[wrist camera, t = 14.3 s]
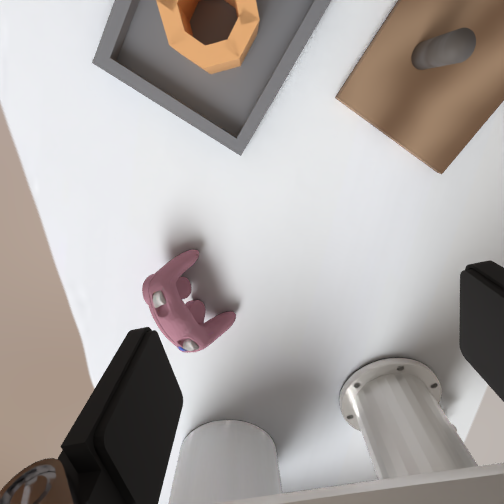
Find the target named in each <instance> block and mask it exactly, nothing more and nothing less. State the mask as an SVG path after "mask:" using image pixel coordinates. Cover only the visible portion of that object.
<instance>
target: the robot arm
mask: <svg viewBox="0 0 504 504" xmlns="http://www.w3.org/2000/svg"><path fill="white" fill-rule="evenodd" d="M460 349H461V352H462V354H463V356H464V357H465V359H466V360H467V361H468V362H469V363H470V364H471V365H472V367H473V368H474V369H475V370H476V371H477V372H478V373H479V374H480V376H481V377H482V378H483V379H484V380H485V381H486V382H487V384H488V385H489V386H490V387H491V388H492V389H493V390H494V391H495V392H496V394H497V395H498V396H499V397H500V398H501V399H502V400H503V401H504V268H503V267H501V266H500V265H498V264H496V263H495V262H493V261H485V262H480V263H475V264H469V265H468V266H467V267H466V269H465V271H462V272H461V274H460ZM441 393H442V390H441V384H440V382H439V380H438V378H437V377H436V375H435V374H434V373H433V371H432V370H431V369H430V368H429V367H427V366H426V365H424V364H422V363H421V362H419V361H415V360H412V359H406V358H389V359H383V360H379V361H376V362H373V363H370V364H368V365H366V366H364V367H362V368H361V369H359V370H358V371H356V372H355V373H354V374H353V375H352V376H351V377H350V378H349V379H348V380H347V381H346V383H345V384H344V385H343V388H342V390H341V392H340V397H339V405H340V409H341V412H342V415H343V417H344V419H345V420H346V421H347V422H348V424H349V425H351V426H352V427H353V428H355V429H357V430H359V431H361V432H362V435H363V438H364V441H365V444H366V447H367V449H368V452H369V455H370V458H371V461H372V464H373V466H374V469H375V472H376V475H377V478H378V480H373V481H366V482H359V483H352V484H345V485H338V486H331V487H324V488H317V489H310V490H302V491H295V492H288V493H281V494H275V495H268V496H261V497H254V498H247V499H240V500H234V501H227V502H220V503H213V504H504V463H498V464H491V465H483V466H478V465H477V463H476V462H475V460H474V458H473V457H472V455H471V454H470V452H469V451H468V449H467V448H466V446H465V444H464V443H463V441H462V440H461V438H460V437H459V435H458V434H457V429H456V427H455V426H454V425H453V424H451V423H450V421H449V420H448V418H447V416H446V415H445V413H444V412H443V410H442V409H441V407H440V406H439V402H440V399H441ZM182 406H183V396H182V392H181V390H180V387H179V385H178V382H177V380H176V377H175V375H174V373H173V370H172V368H171V365H170V363H169V360H168V358H167V355H166V353H165V350H164V348H163V345H162V343H161V340H160V338H159V335H158V333H157V332H156V331H155V330H154V331H152V330H151V329H150V328H149V327H145V328H140V329H135V330H131V331H129V332H128V334H127V336H126V337H125V339H124V341H123V342H122V344H121V346H120V347H119V349H118V351H117V352H116V354H115V356H114V357H113V359H112V361H111V363H110V364H109V366H108V368H107V369H106V371H105V373H104V374H103V376H102V378H101V379H100V381H99V383H98V384H97V386H96V388H95V389H94V391H93V393H92V395H91V396H90V398H89V400H88V401H87V403H86V405H85V406H84V408H83V410H82V411H81V413H80V415H79V416H78V418H77V420H76V421H75V423H74V425H73V426H72V428H71V430H70V432H69V433H68V435H67V437H66V438H65V440H64V442H63V444H62V445H61V448H62V449H63V451H62V452H61V454H60V456H59V457H58V459H54V458H48V459H43V460H40V461H37V462H35V463H33V464H31V465H29V466H28V467H26V468H24V469H23V470H22V471H20V472H19V473H18V474H16V475H15V476H14V477H13V478H12V479H11V480H10V481H9V482H8V483H7V484H6V485H5V486H4V487H3V488H2V490H1V491H0V504H158V501H159V497H160V493H161V489H162V485H163V481H164V477H165V473H166V469H167V465H168V461H169V457H170V453H171V449H172V446H173V442H174V438H175V434H176V430H177V426H178V422H179V418H180V414H181V410H182Z"/></svg>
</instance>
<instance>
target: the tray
mask: <svg viewBox="0 0 504 504" xmlns="http://www.w3.org/2000/svg"><path fill="white" fill-rule="evenodd" d="M330 1H331V0H256V3H257V9H258V14H259V19H260V20H259V26H258V32H257V36H256V38H255V40H254V41H253V43H252V45H251V47H250V49H249V51H248V53H247V55H246V57H245V59H244V61H243V62H242V64H241V66H239V67H236V68H232V69H228V70H225V71H221V72H217V73H214V74H209V73H208V72H206V71H205V70H203V69H202V68H200V67H199V66H198V65H196V64H195V63H193V62H192V61H190V60H189V59H187V58H186V57H184V56H183V55H181V54H180V53H179V52H177V51H176V50H175V49H173V48H172V47H171V46H170V45H169V43H168V39H167V36H166V32H165V29H164V26H163V22H162V19H161V15H160V12H159V9H158V5H157V2H156V0H115V2H114V4H113V7H112V10H111V13H110V15H109V18H108V21H107V24H106V26H105V29H104V32H103V35H102V37H101V40H100V43H99V46H98V48H97V51H96V54H95V57H94V59H93V62H92V63H93V64H95V65H97V66H98V67H100V68H101V69H103V70H105V71H106V72H108V73H109V74H111V75H113V76H114V77H116V78H117V79H119V80H121V81H122V82H124V83H125V84H127V85H128V86H130V87H132V88H133V89H135V90H136V91H138V92H140V93H141V94H143V95H144V96H146V97H148V98H149V99H151V100H152V101H154V102H156V103H157V104H159V105H160V106H162V107H164V108H165V109H167V110H168V111H170V112H172V113H173V114H175V115H176V116H178V117H180V118H181V119H183V120H184V121H186V122H188V123H189V124H191V125H192V126H194V127H196V128H197V129H199V130H200V131H202V132H204V133H205V134H207V135H208V136H210V137H212V138H213V139H215V140H216V141H218V142H220V143H221V144H223V145H224V146H226V147H228V148H229V149H231V150H232V151H234V152H235V153H237V154H239V155H240V156H241V155H242V153H243V151H244V149H245V148H246V146H247V144H248V143H249V141H250V139H251V137H252V136H253V134H254V132H255V131H256V129H257V127H258V125H259V124H260V122H261V120H262V118H263V117H264V115H265V113H266V112H267V110H268V108H269V106H270V105H271V103H272V101H273V100H274V98H275V96H276V94H277V93H278V91H279V89H280V88H281V86H282V84H283V82H284V81H285V79H286V77H287V75H288V74H289V72H290V70H291V69H292V67H293V65H294V63H295V62H296V60H297V58H298V57H299V55H300V53H301V51H302V50H303V48H304V46H305V45H306V43H307V41H308V39H309V38H310V36H311V34H312V32H313V31H314V29H315V27H316V26H317V24H318V22H319V20H320V19H321V17H322V15H323V14H324V12H325V10H326V8H327V7H328V5H329V3H330ZM237 19H238V18H237V13H236V9H235V8H234V7H233V6H231V5H230V4H229V3H227V2H226V1H225V0H201V1H199V2H198V4H197V6H196V8H195V11H194V13H193V15H192V17H191V20H190V25H191V29H192V33H193V37H194V38H195V39H196V40H198V41H199V42H201V43H202V44H204V45H205V46H206V45H209V44H213V43H216V42H220V41H224V40H227V39H228V37H229V35H230V33H231V31H232V29H233V27H234V25H235V23H236V21H237Z"/></svg>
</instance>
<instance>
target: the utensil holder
mask: <svg viewBox="0 0 504 504" xmlns="http://www.w3.org/2000/svg"><path fill="white" fill-rule="evenodd" d="M281 493H282V486H281V479H280V473H279V466H278V458H277V452H276V447H275V444H274V442H273V440H272V438H271V437H270V436H269V434H267V433H266V432H265V431H264V430H263V429H261V428H259V427H257V426H255V425H253V424H251V423H248V422H244V421H238V420H219V421H213V422H209V423H206V424H204V425H201V426H199V427H198V428H196V429H195V430H193V431H192V432H191V433H190V434H189V435H188V436H187V437H186V438H185V439H184V441H183V443H182V445H181V448H180V452H179V457H178V461H177V466H176V470H175V475H174V479H173V484H172V489H171V494H170V498H169V503H168V504H213V503H220V502H227V501H234V500H240V499H247V498H254V497H261V496H268V495H275V494H281Z"/></svg>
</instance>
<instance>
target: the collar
mask: <svg viewBox="0 0 504 504" xmlns="http://www.w3.org/2000/svg"><path fill="white" fill-rule="evenodd" d="M199 1H201V0H156V2H157V5H158V9H159V12H160V15H161V19H162V22H163V26H164V29H165V32H166V36H167V39H168V43H169V45H170V46H171V47H172V48H173V49H175V50H176V51H177V52H179V53H180V54H181V55H183V56H184V57H186V58H187V59H189V60H190V61H192V62H193V63H195V64H196V65H198V66H199V67H200V68H202V69H203V70H205V71H206V72H208V73H209V74H214V73H217V72H221V71H225V70H228V69H232V68H236V67H239V66H241V64H242V62H243V61H244V59H245V57H246V55H247V53H248V51H249V49H250V47H251V45H252V43H253V41H254V40H255V38H256V36H257V32H258V26H259V20H260V19H259V14H258V9H257V3H256V0H225V1H226V2H227V3H229V4H230V5H231V6H233V7H234V8H235V9H236V13H237V18H238V19H237V21H236V23H235V25H234V27H233V29H232V31H231V33H230V35H229V37H228V39H227V40H224V41H220V42H216V43H213V44H209V45H206V46H205V45H204V44H202V43H201V42H199V41H198V40H196V39H195V38H194V37H193V33H192V29H191V25H190V20H191V17H192V15H193V13H194V11H195V8H196V6H197V4H198V2H199Z"/></svg>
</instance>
